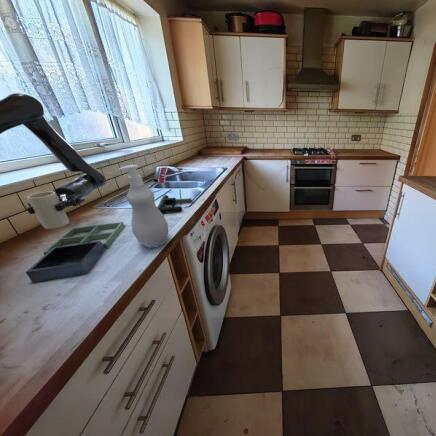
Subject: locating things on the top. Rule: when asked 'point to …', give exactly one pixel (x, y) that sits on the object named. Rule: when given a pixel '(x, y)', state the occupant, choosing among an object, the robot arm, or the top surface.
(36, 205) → the cup
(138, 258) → the top surface
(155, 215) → the soap bottle
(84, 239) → the green divided tray
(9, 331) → the top surface
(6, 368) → the top surface
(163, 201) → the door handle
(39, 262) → the black tray
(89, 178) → the robot arm
